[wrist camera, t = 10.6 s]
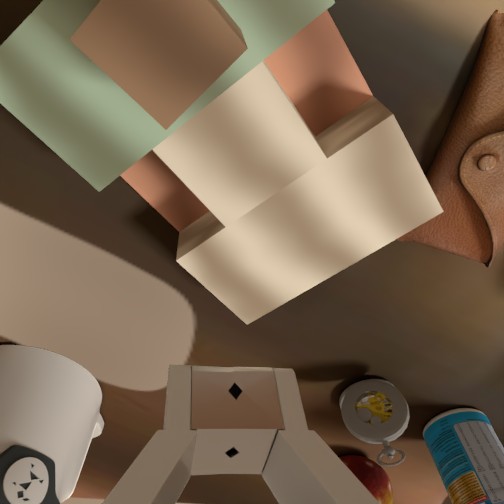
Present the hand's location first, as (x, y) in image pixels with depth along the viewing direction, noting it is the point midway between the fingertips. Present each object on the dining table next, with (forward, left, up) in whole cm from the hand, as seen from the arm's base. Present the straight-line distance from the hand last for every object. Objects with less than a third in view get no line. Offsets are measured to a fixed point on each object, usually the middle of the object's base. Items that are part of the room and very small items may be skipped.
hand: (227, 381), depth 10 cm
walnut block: (+2, +6, -17) cm, 18 cm away
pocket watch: (-6, -35, -22) cm, 41 cm away
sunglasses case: (+14, -14, -22) cm, 30 cm away
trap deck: (0, -2, -21) cm, 21 cm away
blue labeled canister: (-1, -49, -22) cm, 54 cm away
